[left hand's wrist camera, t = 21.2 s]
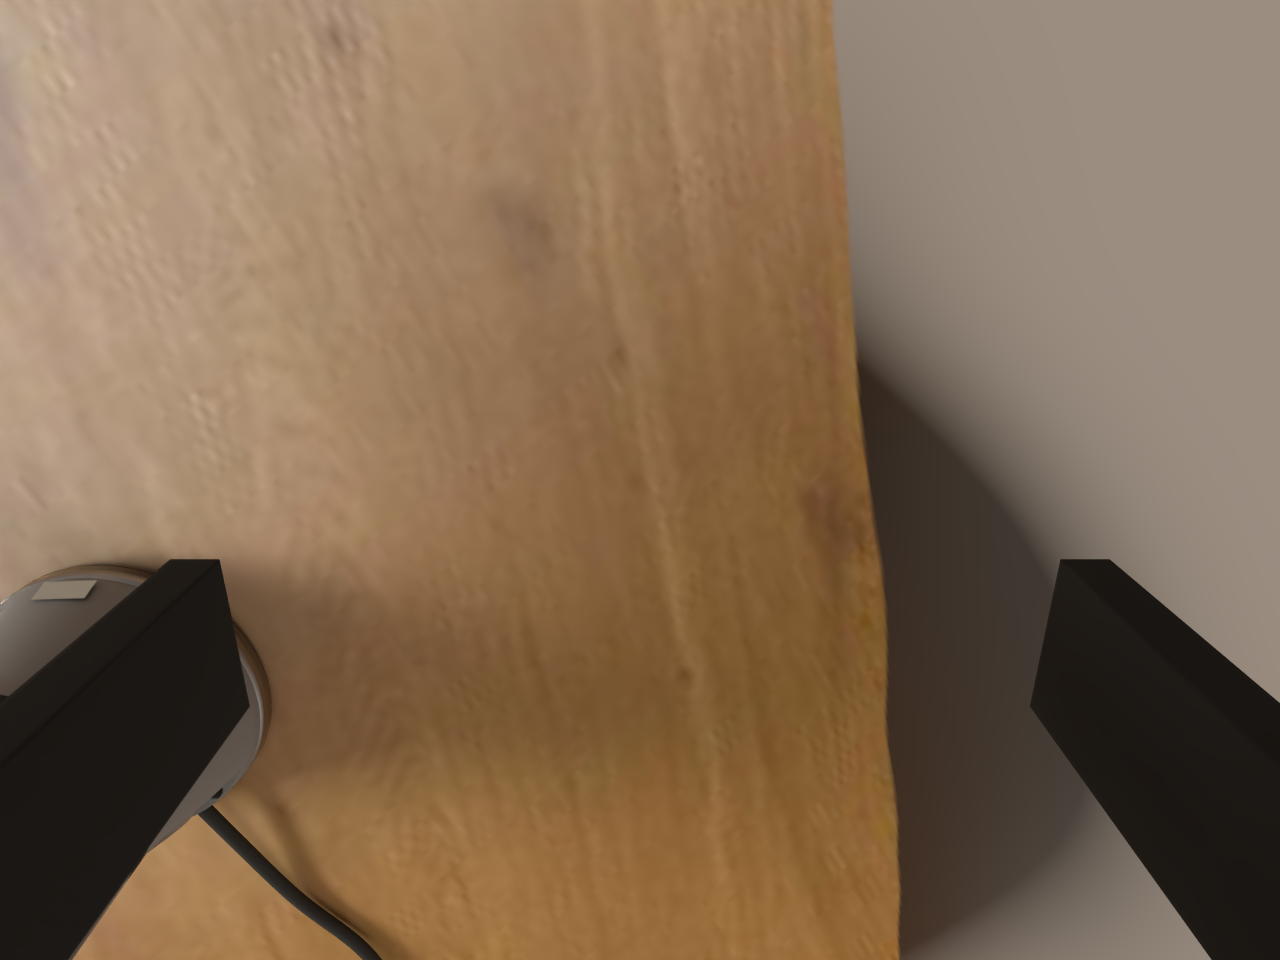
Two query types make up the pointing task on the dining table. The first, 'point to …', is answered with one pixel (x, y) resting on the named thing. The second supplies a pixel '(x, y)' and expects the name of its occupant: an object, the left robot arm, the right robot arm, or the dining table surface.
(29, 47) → the dining table surface
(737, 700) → the dining table surface
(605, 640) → the dining table surface
